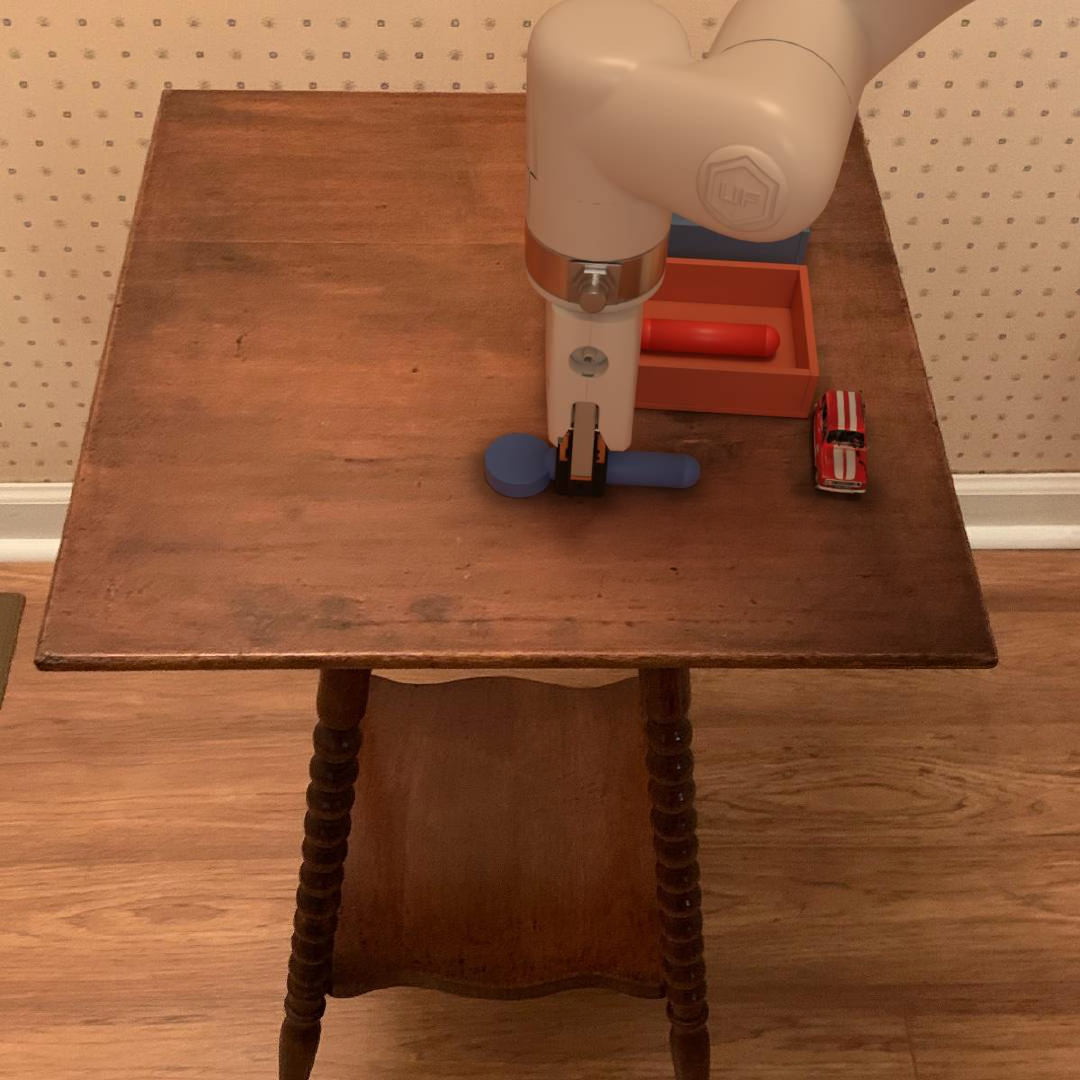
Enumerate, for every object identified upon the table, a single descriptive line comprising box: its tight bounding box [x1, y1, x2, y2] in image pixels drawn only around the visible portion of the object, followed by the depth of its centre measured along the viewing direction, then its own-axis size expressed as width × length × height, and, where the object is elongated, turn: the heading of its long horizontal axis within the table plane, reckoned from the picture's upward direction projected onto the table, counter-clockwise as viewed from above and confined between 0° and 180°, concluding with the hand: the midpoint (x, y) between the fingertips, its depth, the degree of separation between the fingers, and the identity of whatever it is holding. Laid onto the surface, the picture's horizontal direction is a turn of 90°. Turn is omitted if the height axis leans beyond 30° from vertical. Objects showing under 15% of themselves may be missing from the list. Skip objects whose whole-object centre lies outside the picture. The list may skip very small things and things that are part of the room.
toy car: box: [812, 389, 873, 494], centre depth 77 cm, size 4×8×3 cm, turn 173°
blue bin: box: [667, 212, 811, 265], centre depth 94 cm, size 12×17×4 cm
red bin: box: [634, 257, 820, 419], centre depth 83 cm, size 17×11×4 cm, turn 86°
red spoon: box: [640, 318, 780, 357], centre depth 83 cm, size 14×4×2 cm, turn 86°
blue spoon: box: [484, 432, 701, 499], centre depth 76 cm, size 14×4×2 cm, turn 86°
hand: (580, 474), depth 77 cm, fingers closed on blue spoon, 2 cm apart
